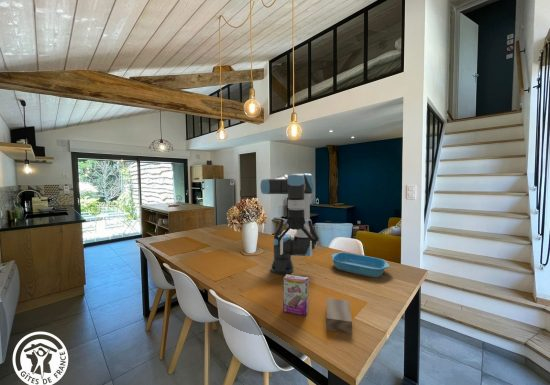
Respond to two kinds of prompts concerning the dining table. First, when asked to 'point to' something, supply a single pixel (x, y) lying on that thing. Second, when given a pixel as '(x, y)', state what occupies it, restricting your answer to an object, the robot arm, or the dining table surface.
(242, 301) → the dining table surface
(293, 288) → the candy bar box
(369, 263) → the casserole dish
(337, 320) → the walnut block
